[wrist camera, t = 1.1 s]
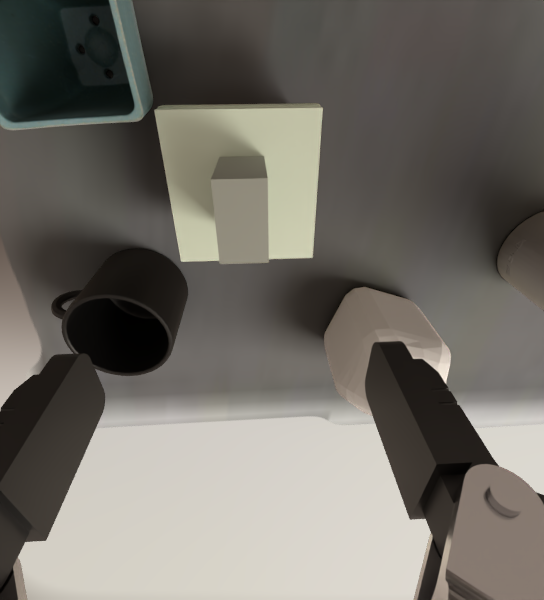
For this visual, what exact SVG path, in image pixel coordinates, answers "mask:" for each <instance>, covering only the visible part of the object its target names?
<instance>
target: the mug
mask: <svg viewBox="0 0 544 600" xmlns="http://www.w3.org/2000/svg"><path fill="white" fill-rule="evenodd" d="M187 296H188V288H187V283H186V280H185V278H184V276H183V274H182V273H181V271H180V270H179V268H178V267H177V266H176V265H175V264H174V263H173V262H172V261H171V260H169V259H168V258H166V257H164V256H163V255H161V254H159V253H156V252H153V251H150V250H145V249H128V250H124V251H120V252H118V253H115V254H114V255H112V256H111V257H109V258H108V259H107V260H106V261H105V262H104V264H103V265H102V266H101V267H100V269H99V270H98V271H97V272H96V274H95V275H94V276H93V277H92V279H91V280H90V281H89V282H88V284H87V285H86V286H85V288H84V289H83V290H79V291H72V292H68V293H65V294H62V295H60V296H59V297H57V298H56V299H55V300H54V301H53V303H52V306H51V310H52V313H53V314H54V315H55V316H56V317H58V318H60V319H63V320H62V334H63V337H64V340H65V342H66V344H67V346H68V347H69V348H70V350H71V351H72V352H73V353H74V354H83V353H84V354H87V355H88V356H89V357H90V359H91V361H92V364H93V366H94V368H95V369H97V370H100V371H103V372H106V373H110V374H114V375H121V376H135V375H141V374H146V373H149V372H152V371H154V370H156V369H157V368H159V367H160V366H162V365H163V364H164V363H165V362H166V361H167V359H168V358H169V356H170V355H171V352H172V349H173V346H174V342H175V339H176V335H177V332H178V328H179V325H180V321H181V318H182V315H183V311H184V308H185V304H186V301H187ZM73 299H75V300H74V301H73V303H72V304H71V305H70V306H69V308H68V309H67V311H66V310H64V309H63V308H62V305H63V304H64V303H66V302H67V301H70V300H73Z"/></svg>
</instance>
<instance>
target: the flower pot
mask: <svg viewBox="0 0 544 600" xmlns="http://www.w3.org/2000/svg"><path fill="white" fill-rule="evenodd" d="M93 16H97V17H98V19H99V24H98V25H95V24H94V23H93V22H92V17H93ZM80 45H82V46H83V47H84V49H85V53H84V54H81V53H80V52H79V49H78V47H79V46H80ZM107 70H111V71H112V72H113V77H112V78H109V77H108V76H107V75H106V72H107ZM152 105H153V94H152V90H151V85H150V81H149V76H148V72H147V67H146V63H145V58H144V54H143V49H142V45H141V40H140V35H139V31H138V26H137V21H136V17H135V12H134V7H133V2H132V0H0V126H1V127H3V128H4V129H8V130H22V129H33V128H44V127H57V126H72V125H88V124H103V123H121V122H136V121H140V120H141V119H142V118H143V117H144V116H145V115H146V114H147V112H148V111H149V110H150V109H151V107H152Z"/></svg>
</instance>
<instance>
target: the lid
mask: <svg viewBox="0 0 544 600" xmlns="http://www.w3.org/2000/svg"><path fill="white" fill-rule="evenodd" d="M154 112H155V117H156V123H157V128H158V134H159V140H160V145H161V151H162V157H163V162H164V168H165V173H166V179H167V185H168V190H169V196H170V201H171V207H172V213H173V218H174V224H175V230H176V235H177V241H178V246H179V252H180V258H181V262H190V261H219V262H220V264H241V263H269V259H289V258H313V245H314V230H315V216H316V201H317V186H318V171H319V157H320V142H321V127H322V113H323V108H322V107H320V105H319V104H317V103H302V104H217V105H162V106H158V109H155V110H154Z"/></svg>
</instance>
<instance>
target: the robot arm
mask: <svg viewBox="0 0 544 600" xmlns="http://www.w3.org/2000/svg"><path fill="white" fill-rule="evenodd" d="M497 267H498V272H499V273H500V275H501V277H502V278H504V279H505V280H506V281H507V282H508V283H510V284H511V285H512V286H513V287H515V288H516V289H517V290H518V291H520V292H521V293H522V294H523V295H524V296H526V297H527V298H528V299H529V300H530V301H532V302H533V303H534V304H535V305H537V306H538V307H539V308H540V309H542V310H543V311H544V211H543V212H540V213H538V214H535V215H534V216H532V217H530V218H528V219H527V220H525V221H524V222H523V223H521V224H520V225H519V226H517V227H516V228H515V229H514V230H513V231H512V232H511V233H510V235H509V236H508V237H507V239H506V240H505V241H504V243H503V245H502V247H501V249H500V251H499V255H498V258H497ZM365 392H366V398H367V401H368V404H369V407H370V410H371V412H372V415H373V418H374V421H375V423H376V426H377V429H378V432H379V435H380V437H381V440H382V443H383V446H384V449H385V451H386V454H387V457H388V459H389V462H390V465H391V468H392V471H393V474H394V476H395V479H396V482H397V485H398V488H399V490H400V493H401V496H402V499H403V501H404V504H405V507H406V510H407V513H408V515H409V518H410V519H426V521H427V523H428V526H429V528H430V531H431V534H430V537H429V541H428V545H427V549H426V552H425V557H424V560H423V565H422V568H421V572H420V576H419V581H418V585H417V589H416V592H415V596H414V600H544V495H542V494H539V493H536V492H535V491H534V490H533V489H532V488H531V487H530V486H529V485H528V484H527V483H526V482H525V481H524V480H522V479H521V478H520V477H519V476H517V475H516V474H514V473H512V472H510V471H509V470H507V469H504V468H502V467H499V466H498V464H497V463H496V462H495V460H494V459H493V458H492V456H491V454H490V453H489V451H488V450H487V448H486V446H485V445H484V443H483V442H482V440H481V439H480V437H479V435H478V434H477V432H476V431H475V429H474V428H473V426H472V424H471V423H470V421H469V420H468V418H467V417H466V415H465V413H464V412H463V410H462V409H461V407H460V405H457V401H456V399H455V398H454V396H453V394H452V393H451V391H449V390H448V387H447V385H446V383H445V382H444V380H443V379H442V377H441V376H440V374H439V372H438V371H436V370H435V369H434V368H433V367H432V366H431V365H429V364H428V363H427V362H426V361H425V360H423V359H413V357H412V356H411V354H410V352H409V350H408V349H407V347H406V345H405V344H404V343H403V342H402V341H390V342H375V343H374V344H373V345H372V349H371V354H370V358H369V363H368V368H367V373H366V377H365ZM104 406H105V393H104V389H103V387H102V384H101V382H100V380H99V377H98V375H97V373H96V371H95V368H94V366H93V364H92V361H91V359H90V357H89V356H88V355H87V354H84V353H83V354H60V355H54V356H53V357H52V358H51V359H50V360H49V361H48V363H47V364H46V365H45V367H44V368H43V370H42V371H41V372H40V374H39V375H33V376H31V377H30V378H29V379H28V380H26V381H25V382H24V383H23V384H21V385H20V386H19V387H18V388H16V389H15V390H14V391H13V393H12V394H11V395H10V396H9V398H8V399H7V400H6V402H5V403H4V404H3V406H2V407H1V411H0V600H27V596H26V590H25V585H24V579H23V573H22V568H21V563H20V560H19V559H18V555H19V553H20V551H21V549H22V547H23V545H24V543H25V542H30V541H46V539H47V537H48V535H49V532H50V530H51V528H52V526H53V524H54V521H55V519H56V517H57V515H58V512H59V510H60V508H61V506H62V503H63V501H64V499H65V496H66V494H67V492H68V490H69V487H70V485H71V483H72V480H73V478H74V476H75V474H76V472H77V469H78V467H79V465H80V462H81V460H82V458H83V456H84V454H85V451H86V449H87V447H88V445H89V442H90V440H91V438H92V436H93V433H94V431H95V429H96V426H97V424H98V422H99V420H100V417H101V415H102V413H103V410H104Z"/></svg>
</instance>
